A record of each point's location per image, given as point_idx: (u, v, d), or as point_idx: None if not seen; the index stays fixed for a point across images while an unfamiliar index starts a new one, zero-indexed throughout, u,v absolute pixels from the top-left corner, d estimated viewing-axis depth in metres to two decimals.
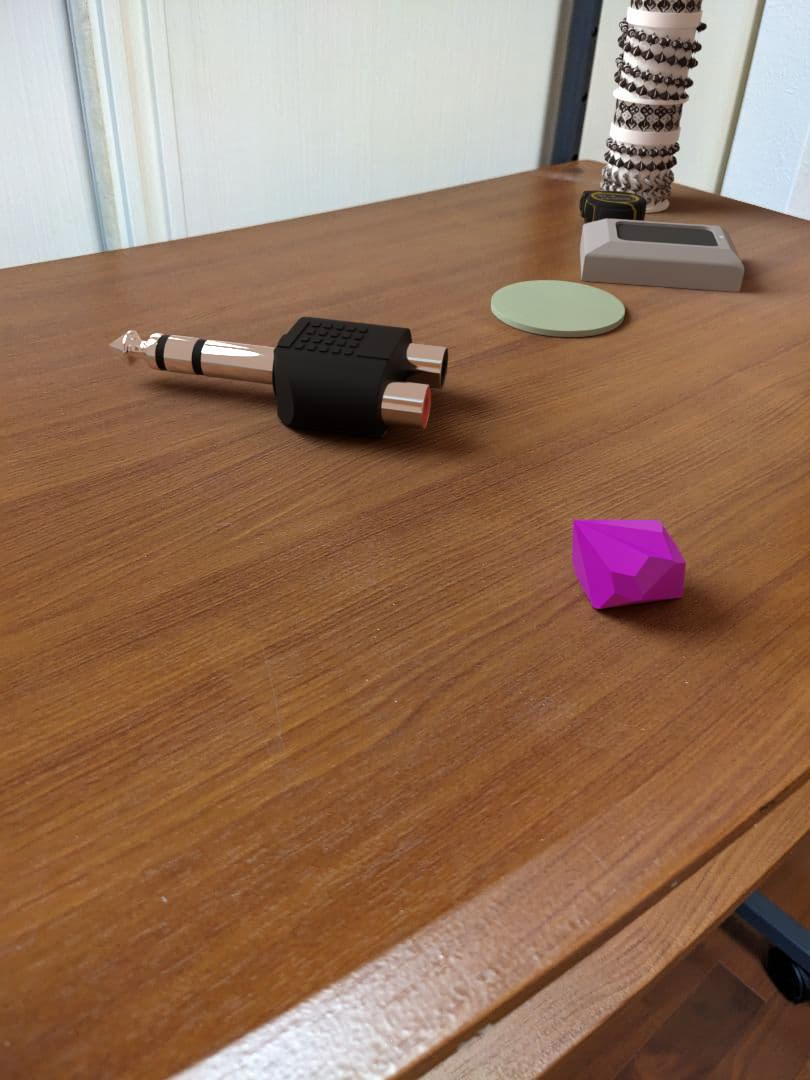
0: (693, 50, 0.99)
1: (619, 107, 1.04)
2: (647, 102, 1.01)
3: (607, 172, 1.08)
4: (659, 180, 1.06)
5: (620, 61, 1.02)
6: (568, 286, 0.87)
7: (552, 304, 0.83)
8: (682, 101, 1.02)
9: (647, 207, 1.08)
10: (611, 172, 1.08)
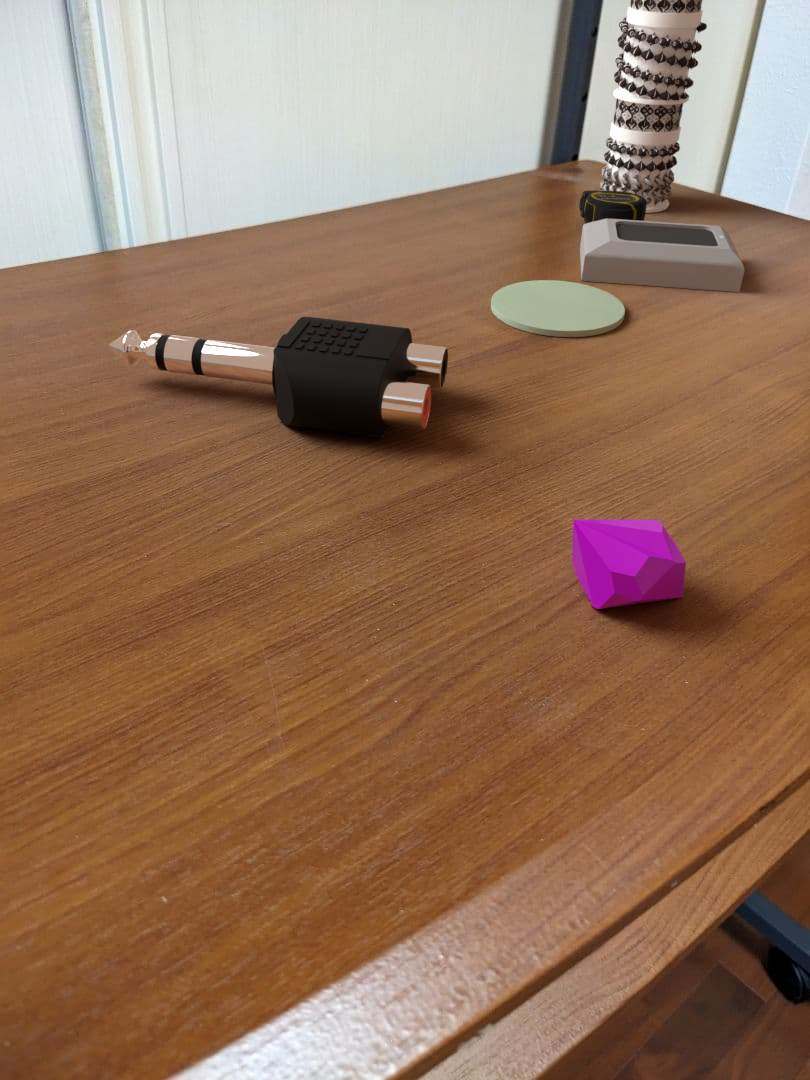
0: (693, 50, 0.99)
1: (619, 107, 1.04)
2: (647, 102, 1.01)
3: (607, 172, 1.08)
4: (659, 180, 1.06)
5: (620, 61, 1.02)
6: (568, 286, 0.87)
7: (552, 304, 0.83)
8: (682, 101, 1.02)
9: (647, 207, 1.08)
10: (611, 172, 1.08)
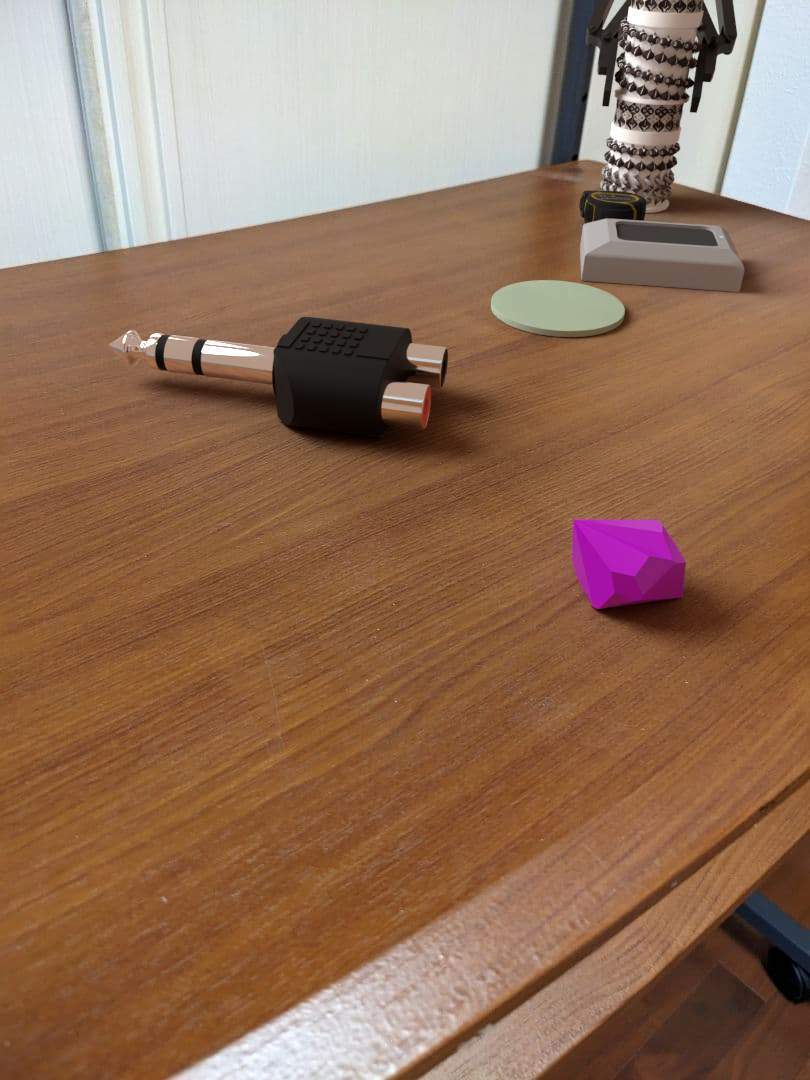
0: (694, 50, 0.99)
1: (619, 107, 1.04)
2: (648, 102, 1.01)
3: (607, 172, 1.08)
4: (659, 180, 1.06)
5: (621, 61, 1.02)
6: (568, 286, 0.87)
7: (552, 304, 0.83)
8: (683, 101, 1.02)
9: (647, 207, 1.08)
10: (611, 172, 1.08)
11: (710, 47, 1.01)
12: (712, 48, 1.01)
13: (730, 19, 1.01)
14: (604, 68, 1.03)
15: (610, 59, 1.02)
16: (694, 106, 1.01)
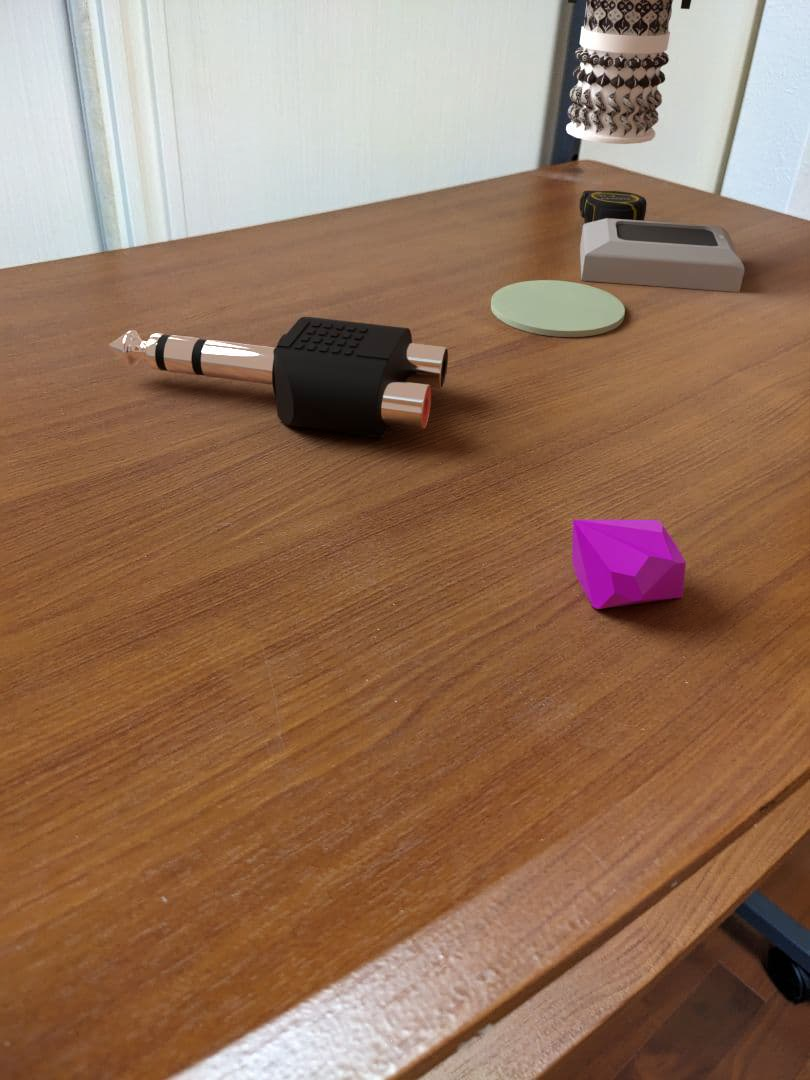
0: None
1: (590, 4, 0.81)
2: None
3: (576, 92, 0.85)
4: (642, 100, 0.83)
5: None
6: (568, 286, 0.87)
7: (552, 304, 0.83)
8: None
9: (627, 136, 0.85)
10: (581, 92, 0.85)
11: None
12: None
13: None
14: None
15: None
16: None
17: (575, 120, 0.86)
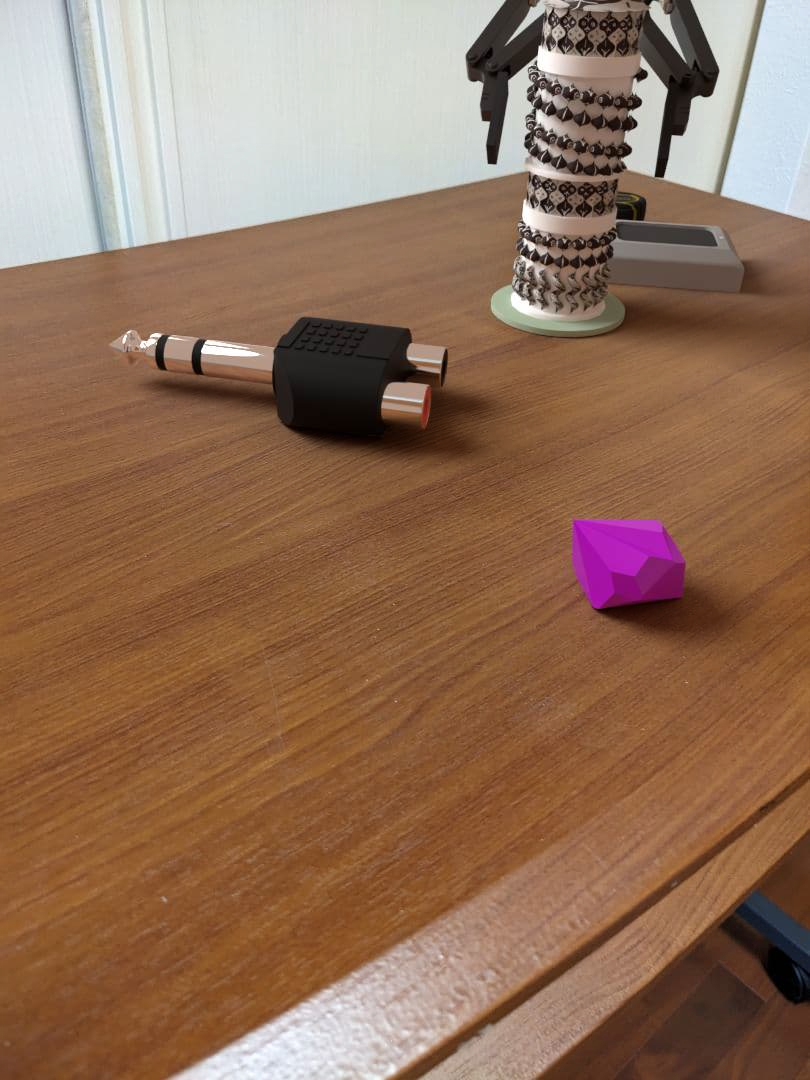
0: (629, 107, 0.71)
1: (531, 182, 0.76)
2: (567, 178, 0.73)
3: (520, 266, 0.80)
4: (588, 280, 0.78)
5: (530, 120, 0.74)
6: None
7: None
8: (616, 176, 0.74)
9: (574, 314, 0.80)
10: (525, 266, 0.80)
11: (684, 88, 0.73)
12: (687, 89, 0.73)
13: (704, 50, 0.72)
14: (488, 113, 0.75)
15: (495, 101, 0.74)
16: (660, 170, 0.73)
17: (519, 294, 0.81)
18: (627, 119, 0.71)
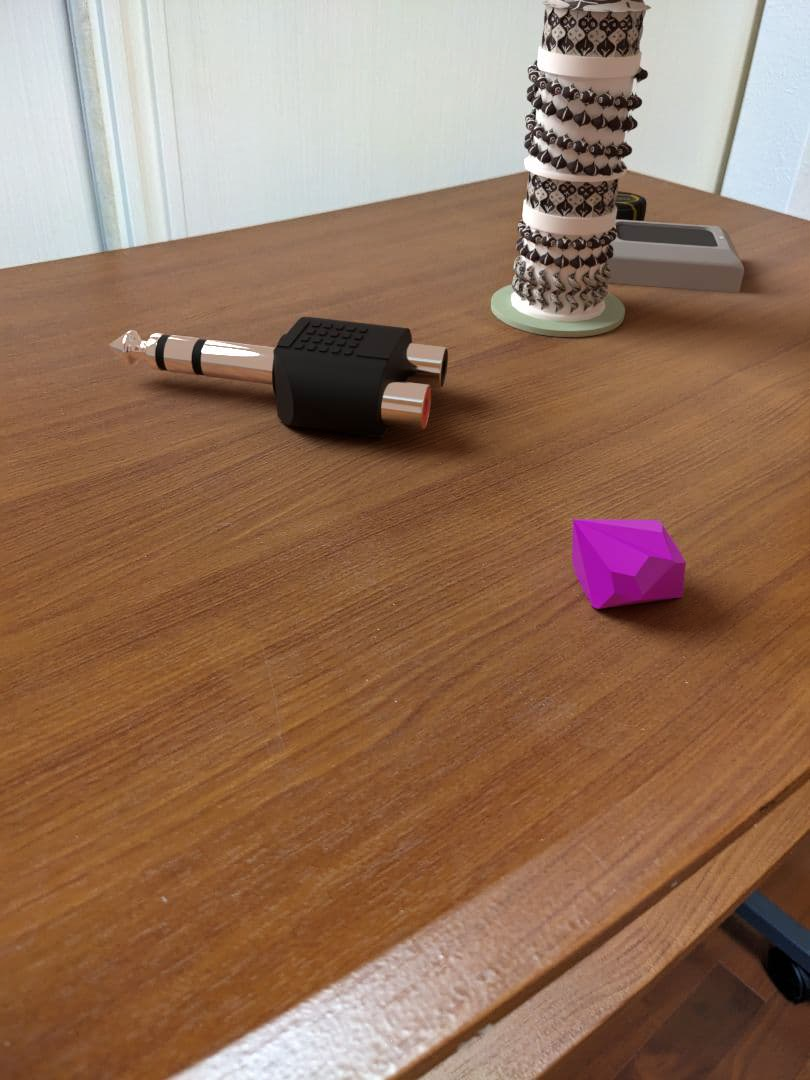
0: (629, 107, 0.71)
1: (531, 182, 0.76)
2: (567, 178, 0.73)
3: (520, 266, 0.80)
4: (588, 280, 0.78)
5: (530, 120, 0.74)
6: None
7: None
8: (616, 176, 0.74)
9: (574, 314, 0.80)
10: (525, 266, 0.80)
11: None
12: None
13: None
14: None
15: None
16: None
17: (519, 294, 0.81)
18: (627, 119, 0.71)
